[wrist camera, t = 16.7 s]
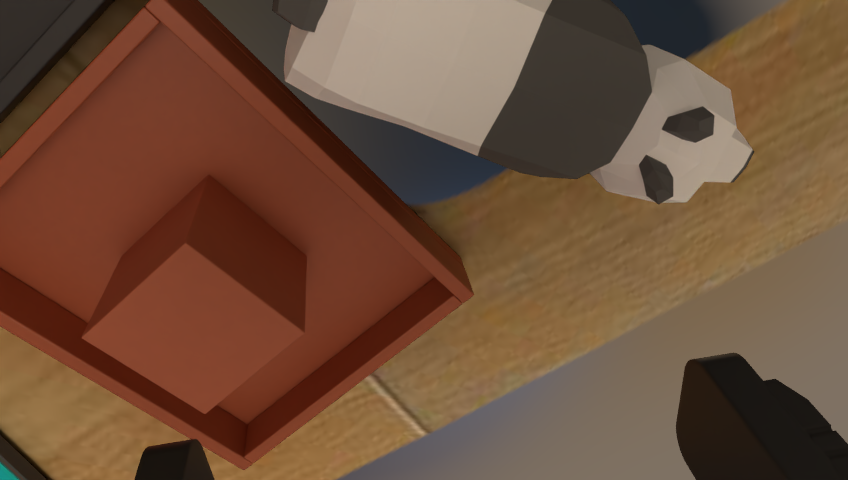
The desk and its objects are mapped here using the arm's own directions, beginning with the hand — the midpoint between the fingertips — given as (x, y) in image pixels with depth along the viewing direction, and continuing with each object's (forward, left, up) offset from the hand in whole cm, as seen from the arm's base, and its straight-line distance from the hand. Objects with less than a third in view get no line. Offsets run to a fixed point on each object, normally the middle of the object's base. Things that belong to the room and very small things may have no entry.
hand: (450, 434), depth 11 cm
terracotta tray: (+8, 0, -16) cm, 18 cm away
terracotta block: (+8, 0, -15) cm, 17 cm away
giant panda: (-5, 0, -16) cm, 17 cm away
